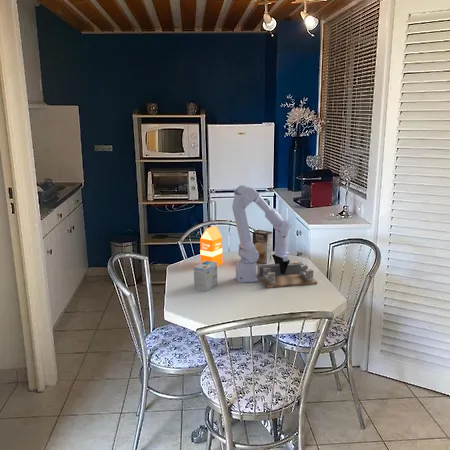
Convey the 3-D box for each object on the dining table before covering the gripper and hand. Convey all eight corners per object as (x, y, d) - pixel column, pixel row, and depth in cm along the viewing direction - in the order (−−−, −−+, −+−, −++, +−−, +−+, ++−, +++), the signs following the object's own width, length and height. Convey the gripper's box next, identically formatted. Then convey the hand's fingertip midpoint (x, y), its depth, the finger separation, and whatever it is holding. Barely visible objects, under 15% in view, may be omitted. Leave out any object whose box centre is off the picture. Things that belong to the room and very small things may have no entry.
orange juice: (200, 265, 243) (199, 227, 239) (210, 261, 251) (209, 224, 246) (212, 268, 239) (212, 229, 235) (222, 263, 246) (222, 226, 242)
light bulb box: (205, 282, 220) (204, 259, 217) (218, 284, 217) (217, 261, 214) (193, 289, 210) (193, 266, 208) (207, 292, 208) (206, 268, 205)
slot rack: (266, 288, 211) (266, 275, 210) (259, 279, 222) (259, 267, 221) (317, 284, 216) (317, 271, 214) (307, 275, 227) (308, 263, 226)
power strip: (259, 277, 226) (259, 266, 224) (257, 275, 229) (257, 264, 228) (303, 273, 230) (303, 262, 229) (300, 271, 234) (300, 260, 232)
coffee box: (251, 261, 250) (251, 231, 246) (257, 258, 255) (257, 229, 251) (267, 264, 245) (267, 234, 241) (272, 260, 250) (273, 231, 247)
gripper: (294, 247, 220) (293, 275, 223) (284, 239, 234) (283, 266, 237) (279, 248, 219) (279, 276, 222) (270, 240, 232) (270, 267, 236)
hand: (280, 271), depth 229 cm, fingers open, 7 cm apart
